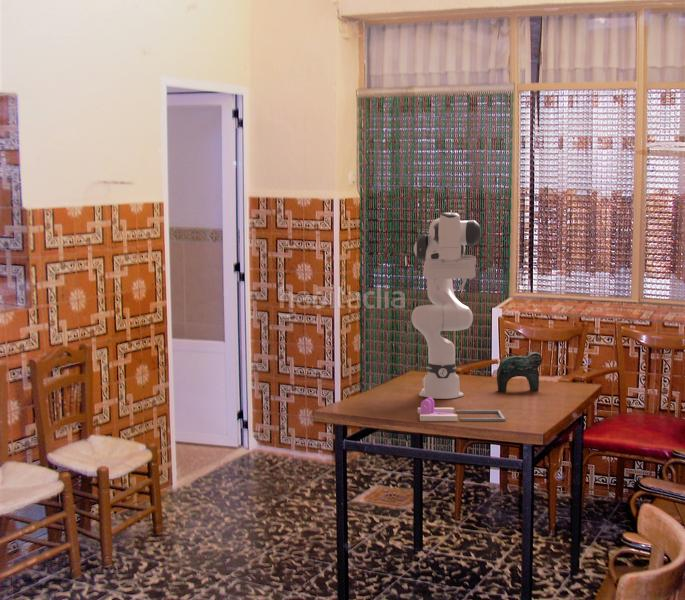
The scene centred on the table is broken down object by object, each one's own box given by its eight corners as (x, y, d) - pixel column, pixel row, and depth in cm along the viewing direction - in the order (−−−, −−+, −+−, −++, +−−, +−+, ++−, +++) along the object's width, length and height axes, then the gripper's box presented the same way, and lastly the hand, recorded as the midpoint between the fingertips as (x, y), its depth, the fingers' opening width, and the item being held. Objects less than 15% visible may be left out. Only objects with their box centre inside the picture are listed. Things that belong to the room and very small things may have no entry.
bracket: (420, 417, 376) (420, 399, 375) (425, 414, 381) (425, 397, 381) (453, 420, 371) (453, 402, 371) (457, 417, 376) (457, 399, 376)
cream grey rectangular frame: (417, 412, 384) (417, 407, 384) (499, 412, 384) (499, 407, 383) (420, 421, 369) (420, 415, 369) (505, 421, 369) (505, 416, 369)
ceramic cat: (539, 389, 432) (540, 344, 430) (543, 391, 426) (544, 346, 424) (495, 390, 430) (495, 344, 428) (499, 393, 423) (499, 347, 421)
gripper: (475, 254, 383) (475, 289, 384) (422, 254, 383) (422, 289, 384) (477, 255, 376) (476, 290, 378) (424, 255, 377) (423, 290, 378)
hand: (449, 290), depth 381 cm, fingers open, 8 cm apart
